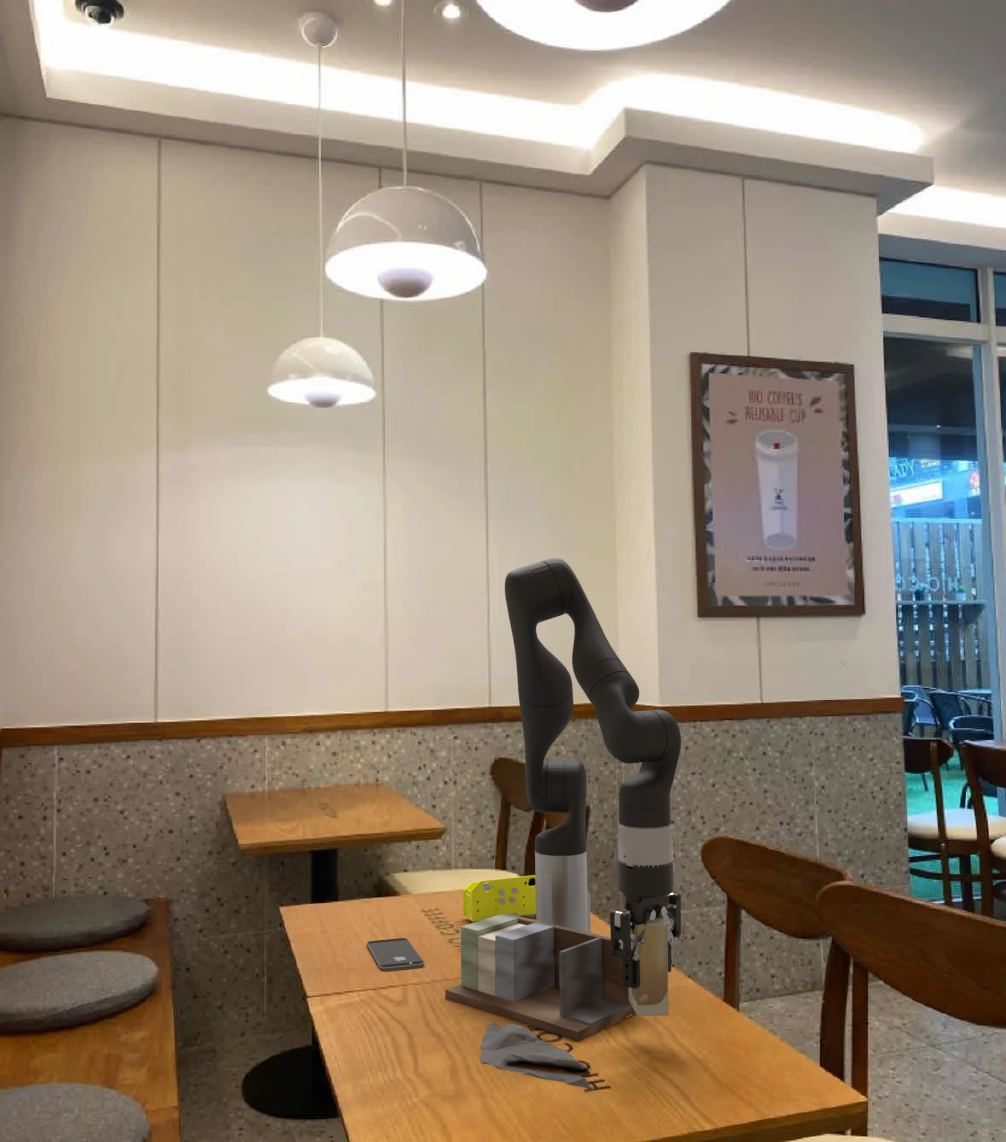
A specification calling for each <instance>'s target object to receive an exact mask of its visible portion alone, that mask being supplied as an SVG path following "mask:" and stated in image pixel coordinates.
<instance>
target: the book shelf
mask: <svg viewBox="0 0 1006 1142" xmlns="http://www.w3.org/2000/svg"><path fill="white" fill-rule="evenodd" d="M621 944H622V940H619V947H621ZM460 956H461V957H460V964H461V965H460V966H461V967H460V968H461V969H460V978H461V979H460V981H461V983H460V984H457V985H455V986H452V987H449V988H446V989H445V990H444V991H445V992H444V997H445V998H446V999H448V1000H452V1001H454V1002H458V1003H460V1004H463V1005H466V1006H470V1007H473V1008H476V1009H478V1010H479V1009H480V1010H482V1011H486V1012H488V1013H490V1014H493V1015H494V1014H495V1015H497V1016H500V1017H503V1018H507V1019H509V1020H513V1021H516V1022H519V1023H523V1024H525V1025H528V1026H531V1027H534V1028H536V1029H540V1030H544V1031H546V1032H550V1033H551V1034H552V1033H553V1034H556V1035H559V1036H562V1037H565V1038H568V1039H570V1040H573V1041H576V1042H579V1041H581V1040H582V1039H585V1038H586V1037H589V1036H591V1035H593V1034H595V1033H597V1032H599V1031H601V1029H602V1030H604V1029H606V1028H608V1027H610V1026H612V1025H614V1024H616V1023H618V1022H619V1021H618V1020H621V1021H623V1020H625V1019H626V1018H625V1017H627V1016H629V1015H631V1014H633V1015H635V1014H636V1012H635V1011H634V1009H633V1007H632V1005H631V1003H630V1001H629V987H626V986H625V985H624V982H623V961H622V958H621V957H617V956H613V955H612V954H611V936H610V937H609V936H605V935H601V934H595V933H592V932H591V933H589V932H584V931H580V930H576V929H571V928H567V927H563V926H559V925H554V924H550V923H546V922H541V921H537V920H536V919H532V918H530V917H522V916H516V915H511V914H507V913H504V914H501V915H498V916H494V917H491V918H488V919H484V920H481V921H478V922H476V921H474V922H471V923H468V924H465V925H462V926H460ZM634 1013H635V1014H634ZM631 1016H632V1015H631ZM629 1017H630V1016H629ZM624 1018H625V1019H624ZM627 1018H628V1017H627ZM622 1019H623V1020H622ZM617 1021H618V1022H617ZM615 1022H616V1023H615ZM613 1023H614V1024H613ZM607 1026H608V1027H607ZM605 1027H606V1028H605ZM603 1028H604V1029H603Z"/></svg>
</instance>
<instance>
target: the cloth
mask: <svg viewBox="0 0 1006 1142" xmlns="http://www.w3.org/2000/svg"><path fill="white" fill-rule="evenodd" d="M479 1048H480V1050H481V1053H480V1057H479V1059H480V1063H482V1065H491V1066H492V1067H493V1068H496V1069H500V1070H502V1071H508V1072H514V1073H521V1075H524V1076H530V1077H533V1078H536V1079H537V1078H538V1079H543V1080H547V1081H554V1082H562V1083H564V1084H566V1085H570V1086H576V1087H577V1086H578V1087H582V1088H584V1089H588V1090H594V1088H593V1087H591V1085H590V1083H589V1081H588V1080H587V1079H586V1078H585V1077H581V1076H580V1074H578V1073H563V1072H554V1071H553V1072H551V1071H541V1070H537V1069H536V1068H534V1067H533V1066H515V1065H523V1064H525V1065H526V1064H535V1065H539V1066H542V1067H543V1066H546V1067H554V1068H555V1067H558V1068H568V1069H574V1070H577V1071H583V1070H585V1071H586V1072H587V1073H588V1074H591V1071H590V1070H589V1069H588V1067H587V1066H586V1065H584V1064H583V1063H582V1062H580V1061H578V1060H577V1059H576V1058H575V1057H574V1056H572V1054H571V1053H570V1052H568V1051H567V1050H564V1049H562V1048H560V1047H557V1046H554V1045H552V1044H551V1043H549V1042H547V1041H545V1040H543V1039H542V1040H540V1039H539V1038H538V1037H537V1036H536V1035H535V1034H534V1033H533V1032H532V1031H530V1029H528V1028H526V1027H524V1026H523V1025H520V1024H512V1023H507V1024H505V1025H504V1026H503V1027H501V1026H500V1025H498V1024H496V1023H494V1022H492V1021H490V1020H489V1021H488V1024H487V1026H486V1030H485V1032H484V1035H483V1038H482V1043H480V1045H479Z"/></svg>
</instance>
